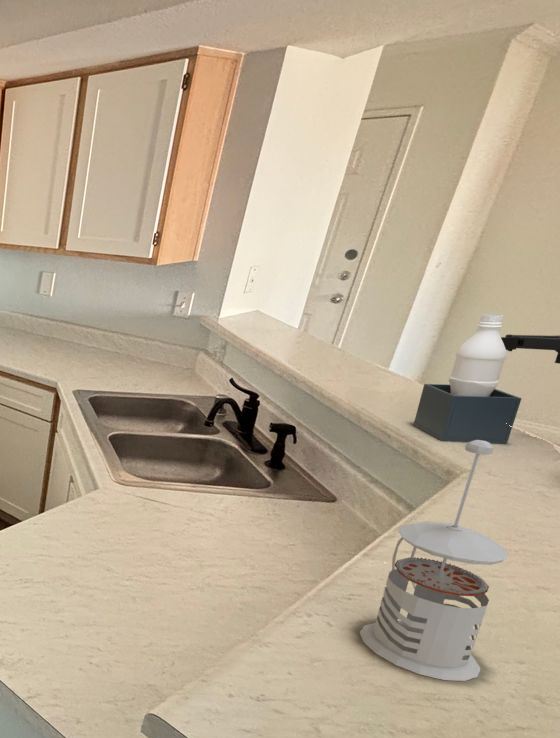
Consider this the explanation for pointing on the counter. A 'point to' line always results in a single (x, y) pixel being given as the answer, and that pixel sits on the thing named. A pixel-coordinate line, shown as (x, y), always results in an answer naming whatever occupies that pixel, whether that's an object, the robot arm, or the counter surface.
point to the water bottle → (479, 360)
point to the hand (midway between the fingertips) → (520, 350)
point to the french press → (435, 597)
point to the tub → (466, 415)
